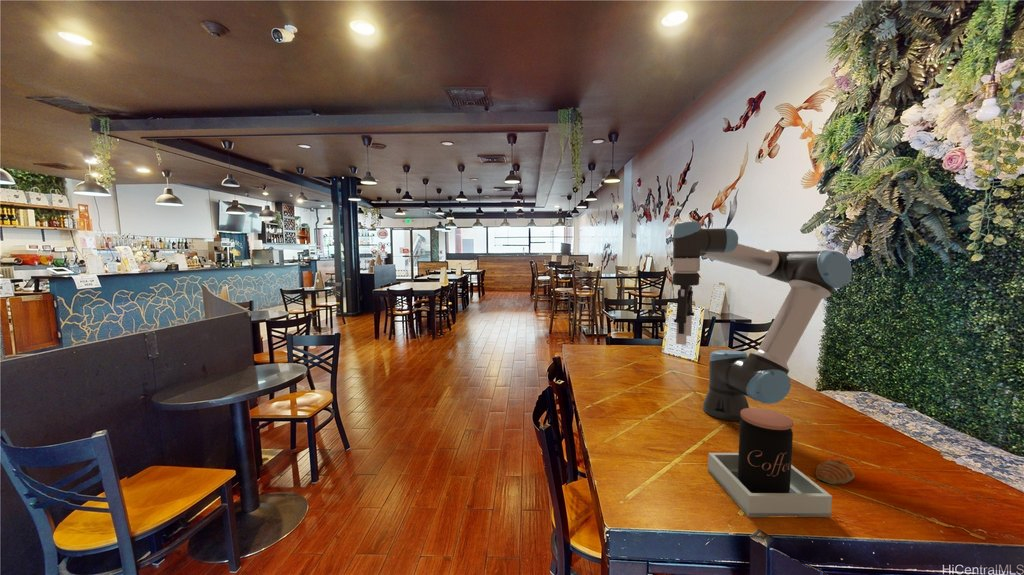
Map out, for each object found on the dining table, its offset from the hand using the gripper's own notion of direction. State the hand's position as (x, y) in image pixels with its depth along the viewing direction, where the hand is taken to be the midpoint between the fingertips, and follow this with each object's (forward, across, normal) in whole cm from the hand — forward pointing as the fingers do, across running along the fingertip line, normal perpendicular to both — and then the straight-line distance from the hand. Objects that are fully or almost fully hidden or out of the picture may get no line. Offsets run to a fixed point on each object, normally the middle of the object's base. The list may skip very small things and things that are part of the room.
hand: (683, 339), depth 117 cm
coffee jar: (+31, +20, +21) cm, 42 cm away
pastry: (+32, +4, +37) cm, 49 cm away
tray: (+32, +20, +21) cm, 43 cm away
